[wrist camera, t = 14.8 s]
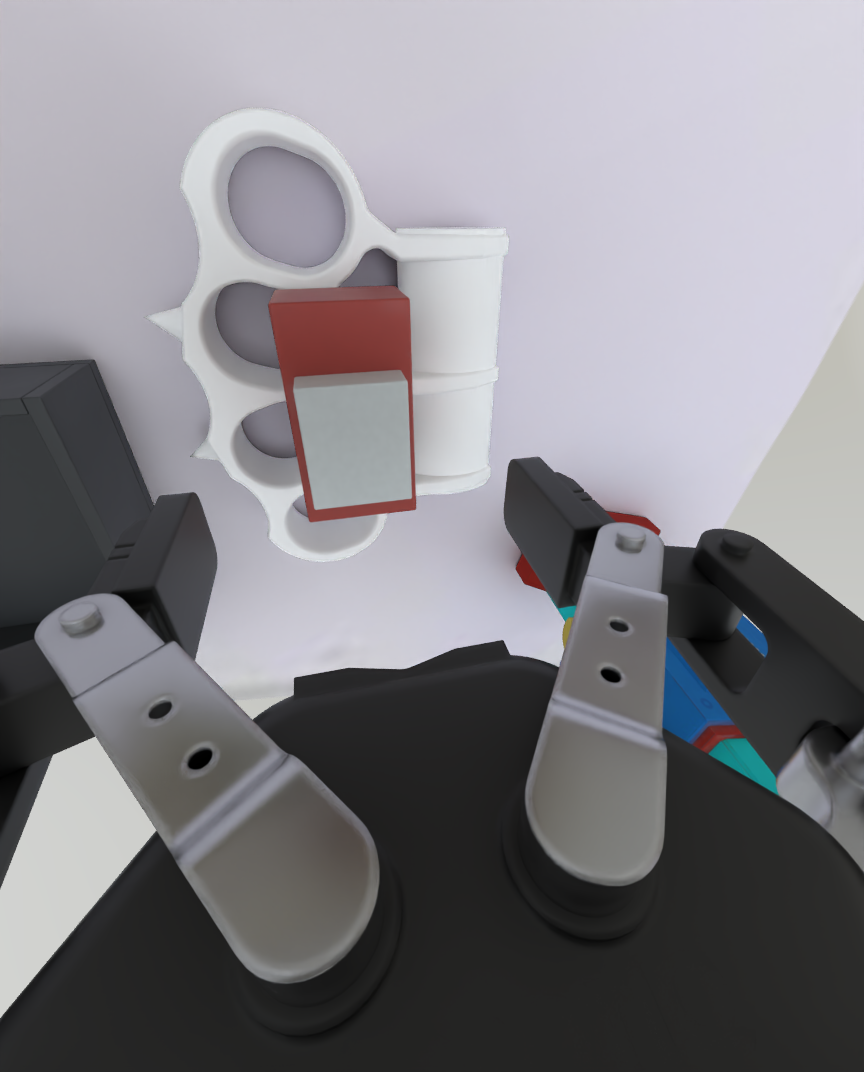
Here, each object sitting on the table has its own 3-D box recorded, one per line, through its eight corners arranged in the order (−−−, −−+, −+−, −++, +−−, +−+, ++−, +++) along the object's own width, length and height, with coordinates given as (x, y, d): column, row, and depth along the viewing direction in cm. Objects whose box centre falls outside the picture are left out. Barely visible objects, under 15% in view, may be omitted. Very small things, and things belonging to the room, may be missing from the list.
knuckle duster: (474, 510, 29) (228, 540, 26) (497, 129, 19) (94, 117, 16) (492, 541, 26) (218, 578, 24) (529, 115, 16) (51, 98, 13)
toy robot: (664, 519, 33) (1218, 997, 13) (623, 585, 36) (1020, 1054, 16) (522, 497, 29) (994, 1124, 9) (490, 572, 32) (790, 1166, 12)
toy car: (402, 469, 22) (424, 528, 18) (307, 480, 22) (307, 543, 17) (394, 283, 18) (420, 304, 14) (273, 287, 17) (262, 311, 13)
